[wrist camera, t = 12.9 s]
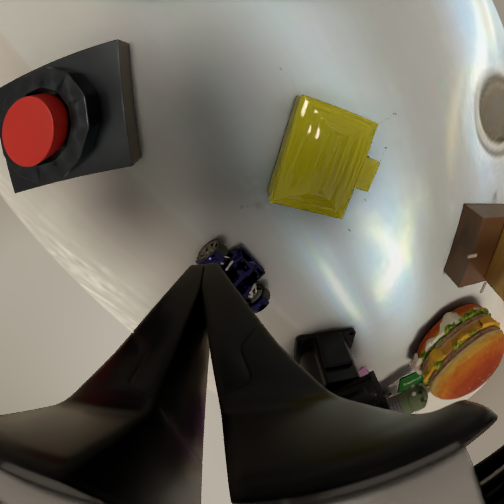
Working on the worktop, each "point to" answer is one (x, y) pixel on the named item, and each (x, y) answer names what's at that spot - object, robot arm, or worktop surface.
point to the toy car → (238, 272)
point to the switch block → (81, 114)
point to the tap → (497, 269)
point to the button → (34, 129)
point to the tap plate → (475, 243)
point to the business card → (410, 381)
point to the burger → (460, 352)
